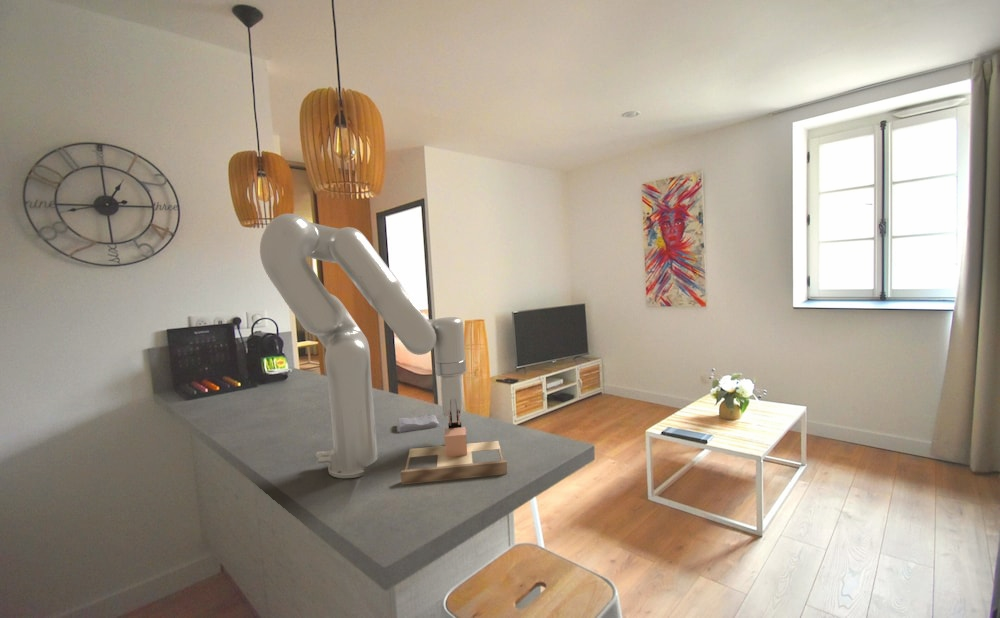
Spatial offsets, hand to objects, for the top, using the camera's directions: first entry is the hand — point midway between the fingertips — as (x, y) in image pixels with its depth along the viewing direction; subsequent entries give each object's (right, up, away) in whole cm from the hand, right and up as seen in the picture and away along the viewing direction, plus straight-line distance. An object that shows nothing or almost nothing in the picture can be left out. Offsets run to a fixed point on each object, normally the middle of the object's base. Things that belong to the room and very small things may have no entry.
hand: (455, 438), depth 108 cm
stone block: (-13, -3, +16) cm, 21 cm away
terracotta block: (+1, -2, -5) cm, 5 cm away
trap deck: (+1, -4, -9) cm, 10 cm away
